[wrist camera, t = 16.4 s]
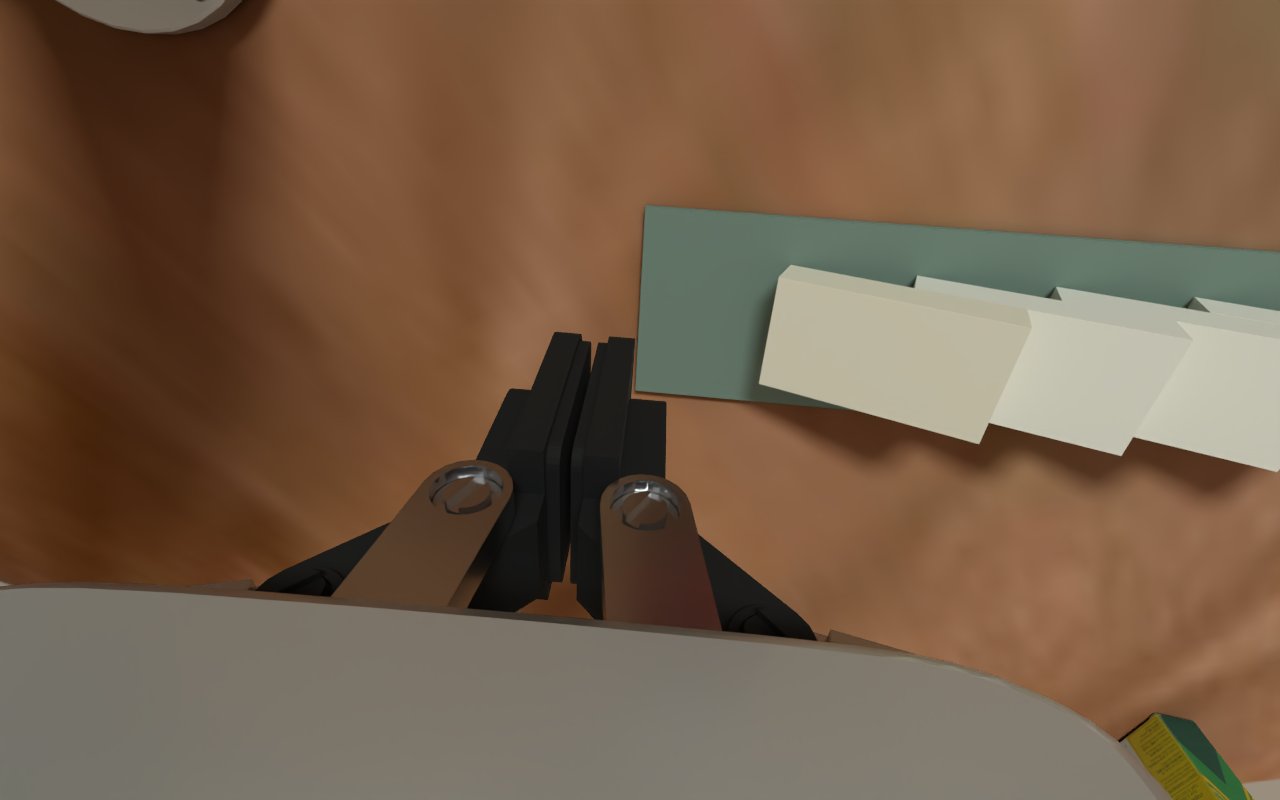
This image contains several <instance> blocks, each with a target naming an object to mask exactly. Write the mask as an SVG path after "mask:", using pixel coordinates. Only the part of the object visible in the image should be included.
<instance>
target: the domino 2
mask: <svg viewBox="0 0 1280 800" xmlns="http://www.w3.org/2000/svg"><path fill="white" fill-rule="evenodd" d="M913 288H916V289H922V290H927V291H932V292H938V293H943V294H948V295H953V296H959V297H964V298H969V299H974V300H980V301H985V302H990V303H996V304H1001V305H1006V306H1011V307H1017V308H1022V309H1027V310H1028V314H1029V318H1030V322H1031V325H1032V329H1031V331H1030V333H1029V336H1028V338H1027V340H1026V342H1025V344H1024V347H1023V349H1022V351H1021V353H1020V355H1019V358H1018V360H1017V362H1016V364H1015V366H1014V369H1013V371H1012V373H1011V375H1010V377H1009V380H1008V382H1007V384H1006V386H1005V388H1004V391H1003V393H1002V395H1001V397H1000V399H999V402H998V404H997V406H996V408H995V410H994V413H993V415H992V417H991V419H990V421H989V423H992V424H996V425H999V426H1003V427H1007V428H1011V429H1015V430H1019V431H1023V432H1027V433H1031V434H1035V435H1039V436H1043V437H1047V438H1051V439H1055V440H1059V441H1063V442H1067V443H1071V444H1075V445H1079V446H1083V447H1087V448H1091V449H1095V450H1099V451H1103V452H1107V453H1111V454H1115V455H1119V456H1122V454H1123V453H1124V451H1125V449H1126V448H1127V446H1128V445H1129V443H1130V441H1131V440H1132V438H1133V437H1134V435H1135V433H1136V432H1137V430H1138V429H1139V427H1140V425H1141V424H1142V422H1143V421H1144V419H1145V417H1146V416H1147V414H1148V413H1149V411H1150V409H1151V408H1152V406H1153V405H1154V403H1155V401H1156V400H1157V398H1158V397H1159V395H1160V393H1161V392H1162V390H1163V389H1164V387H1165V385H1166V384H1167V382H1168V381H1169V379H1170V377H1171V376H1172V374H1173V373H1174V371H1175V369H1176V368H1177V366H1178V365H1179V363H1180V361H1181V360H1182V358H1183V357H1184V355H1185V353H1186V352H1187V350H1188V349H1189V347H1190V345H1191V344H1192V342H1193V341H1194V340H1193V339H1192V338H1191V337H1190V336H1189V334H1188V333H1187V332H1186V331H1185V330H1184V329H1183V328H1182V327H1181V326H1180V325H1179V324H1178V323H1177V322H1176V321H1175V320H1169V319H1163V318H1157V317H1152V316H1146V315H1140V314H1135V313H1129V312H1123V311H1117V310H1112V309H1106V308H1100V307H1095V306H1089V305H1083V304H1077V303H1072V302H1066V301H1060V300H1055V299H1049V298H1043V297H1037V296H1032V295H1026V294H1020V293H1015V292H1009V291H1003V290H997V289H992V288H986V287H980V286H975V285H969V284H963V283H957V282H952V281H946V280H940V279H935V278H929V277H923V276H917V277H916V280H915V283H914V286H913Z"/></svg>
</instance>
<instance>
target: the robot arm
mask: <svg viewBox="0 0 1280 800" xmlns="http://www.w3.org/2000/svg"><path fill="white" fill-rule="evenodd" d="M55 1H57V2H59V3H61V4H62V5H64V6H66V7H68V8H69V9H71V10H73V11H74V12H76V13H78V14H80V15H81V16H84V17H87V18H89V19H92V20H94V21H97V22H100V23H102V24H105V25H107V26H110V27H113V28H117V29H123V30H128V31H134V32H140V33H149V34H181V33H186V32H191V31H196V30H201V29H204V28H206V27H208V26H210V25H211V24H213V23H215V22H217V21H219V20H221V19H223V18H225V17H226V16H227V15H228V14H229V13H230V12H231V11H232V10H233V9H234V8H235V7H236V6H238V5H239V4H240V3H241V2H242V1H243V0H55ZM634 349H635V339H633V338H621V337H609V340H608V343H600V342H599V343H598V346H597V350H596V355H595V359H594V363H593V367H592V371H591V342H588V341H582V335H581V334H574V333H562V332H555V333H554V334H553V337H552V339H551V342H550V344H549V347H548V349H547V352H546V354H545V357H544V359H543V362H542V364H541V367H540V369H539V371H538V374H537V376H536V379H535V381H534V384H533V386H532V389H531V390H524V389H513V388H512V389H510V390H509V391H508V393H507V395H506V397H505V399H504V401H503V403H502V405H501V407H500V410H499V412H498V414H497V416H496V418H495V420H494V422H493V424H492V427H491V429H490V431H489V433H488V435H487V437H486V439H485V441H484V444H483V446H482V448H481V450H480V452H479V454H478V456H477V459H476V460H467V461H459V462H456V463H452V464H449V465H446V466H444V467H442V468H440V469H438V470H437V471H435V472H433V473H432V474H431V475H430V476H429V477H428V478H427V479H426V480H425V481H424V482H423V483H422V484H421V485H420V487H419V488H418V489H417V490H416V492H415V493H414V494H413V495H412V497H411V498H410V499H409V500H408V502H407V503H406V504H405V505H404V507H403V508H402V509H401V510H400V511H399V513H398V514H397V515H396V516H395V518H394V519H393V520H392V521H391V522H390V523H387V524H385V525H383V526H381V527H378V528H376V529H374V530H372V531H370V532H367V533H365V534H363V535H361V536H358V537H356V538H354V539H352V540H350V541H347V542H345V543H343V544H341V545H338V546H336V547H334V548H332V549H330V550H327V551H325V552H323V553H321V554H318V555H316V556H314V557H312V558H310V559H307V560H305V561H303V562H301V563H298V564H296V565H294V566H292V567H290V568H287V569H285V570H283V571H282V572H280V573H278V574H276V575H274V576H273V577H271V578H269V579H268V580H267V581H265V582H264V583H263V584H262V585H261V586H259V587H256V586H255V584H254V581H253V579H251V580H241V581H231V582H221V583H211V584H201V585H191V586H173V585H157V584H138V583H110V582H56V583H29V584H20V585H10V586H1V587H0V800H1173V799H1172V798H1171V797H1170V795H1169V794H1168V793H1167V792H1166V791H1165V789H1164V788H1163V787H1162V786H1161V785H1160V784H1159V782H1158V781H1157V780H1156V779H1155V778H1154V777H1153V776H1152V775H1151V774H1150V773H1149V772H1148V770H1147V769H1146V768H1145V767H1144V766H1143V765H1142V764H1141V763H1140V762H1139V761H1138V760H1137V759H1136V758H1135V757H1134V756H1133V755H1132V754H1131V753H1130V752H1129V751H1128V750H1127V749H1126V748H1125V747H1123V746H1122V745H1121V744H1120V743H1119V742H1118V741H1117V740H1116V739H1114V738H1113V737H1112V736H1110V735H1109V734H1108V733H1106V732H1105V731H1104V730H1102V729H1101V728H1100V727H1098V726H1097V725H1096V724H1094V723H1093V722H1091V721H1089V720H1088V719H1086V718H1084V717H1083V716H1081V715H1079V714H1078V713H1076V712H1074V711H1072V710H1071V709H1069V708H1067V707H1065V706H1063V705H1061V704H1059V703H1057V702H1055V701H1053V700H1052V699H1050V698H1048V697H1046V696H1043V695H1041V694H1039V693H1036V692H1034V691H1031V690H1029V689H1027V688H1024V687H1022V686H1019V685H1017V684H1015V683H1012V682H1010V681H1007V680H1005V679H1003V678H1000V677H998V676H995V675H992V674H989V673H985V672H982V671H979V670H976V669H972V668H969V667H966V666H963V665H960V664H956V663H953V662H949V661H944V660H939V659H935V658H930V657H925V656H921V655H917V654H914V653H910V652H907V651H903V650H900V649H896V648H893V647H890V646H886V645H883V644H879V643H876V642H872V641H869V640H865V639H862V638H859V637H855V636H852V635H848V634H845V633H841V632H838V631H834V630H830V632H829V634H828V636H825V635H822V634H818V633H815V632H813V631H812V630H811V628H810V626H809V625H808V624H807V623H806V622H805V621H804V620H803V619H802V618H801V617H800V616H799V615H798V614H797V613H796V612H795V611H793V610H792V609H791V608H790V607H788V606H787V605H786V604H785V603H783V602H782V601H781V600H780V599H778V598H777V597H776V596H775V595H773V594H772V593H771V592H770V591H768V590H767V589H766V588H765V587H763V586H762V585H761V584H760V583H758V582H757V581H756V580H755V579H753V578H752V577H751V576H750V575H748V574H747V573H746V572H745V571H743V570H742V569H741V568H740V567H738V566H737V565H736V564H735V563H733V562H732V561H731V560H730V559H728V558H727V557H726V556H725V555H723V554H722V553H721V552H720V551H719V550H717V549H716V548H715V547H714V546H712V545H711V544H710V543H709V542H707V541H706V540H705V539H704V538H702V537H701V536H700V535H699V534H698V532H697V528H696V524H695V520H694V516H693V512H692V508H691V504H690V502H689V500H688V497H687V495H686V494H685V493H684V492H683V491H682V489H681V488H680V487H679V486H677V485H676V484H674V483H672V482H671V481H669V480H667V479H665V463H666V402H664V401H653V400H641V399H631V390H632V376H633V362H634ZM570 542H571V552H570V581H571V583H573V584H577V601H578V602H579V603H580V604H581V605H582V606H583V607H584V608H585V609H586V610H587V612H588V613H589V614H590V615H591V616H592V617H593V618H594V619H595V620H594V619H582V618H571V617H559V616H548V615H537V614H525V613H522V608H523V607H524V606H526V605H528V604H529V603H531V602H532V601H534V600H536V599H544V600H548V597H549V592H550V588H551V584H552V582H562V580H563V577H564V572H565V567H566V562H567V557H568V552H569V547H570Z"/></svg>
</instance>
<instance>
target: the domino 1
mask: <svg viewBox="0 0 1280 800" xmlns="http://www.w3.org/2000/svg"><path fill="white" fill-rule="evenodd" d="M1031 329H1032V325H1031V322H1030V318H1029V314H1028V310H1027V309H1022V308H1017V307H1011V306H1006V305H1001V304H996V303H990V302H985V301H980V300H974V299H969V298H964V297H959V296H953V295H948V294H943V293H938V292H932V291H927V290H922V289H916V288H911V287H906V286H901V285H895V284H890V283H885V282H880V281H874V280H869V279H864V278H858V277H853V276H848V275H843V274H837V273H832V272H827V271H822V270H816V269H811V268H806V267H800V266H795V265H790V266H789V267H788V268H787V269H786V270H785V271H784V272H783V273H782V274H781V275H780V276H779V279H778V284H777V289H776V295H775V300H774V305H773V310H772V316H771V321H770V326H769V332H768V337H767V342H766V348H765V353H764V358H763V364H762V369H761V374H760V380H759V384H762V385H765V386H769V387H773V388H776V389H780V390H784V391H787V392H791V393H794V394H798V395H802V396H805V397H809V398H813V399H816V400H820V401H824V402H827V403H831V404H834V405H838V406H842V407H845V408H849V409H853V410H856V411H860V412H864V413H867V414H871V415H875V416H878V417H882V418H885V419H889V420H893V421H896V422H900V423H904V424H907V425H911V426H915V427H918V428H922V429H925V430H929V431H933V432H936V433H940V434H944V435H947V436H951V437H955V438H958V439H962V440H966V441H969V442H973V443H976V444H979V443H980V441H981V439H982V437H983V435H984V432H985V430H986V428H987V426H988V424H989V421H990V419H991V417H992V415H993V413H994V410H995V408H996V406H997V404H998V402H999V399H1000V397H1001V395H1002V393H1003V391H1004V388H1005V386H1006V384H1007V382H1008V380H1009V377H1010V375H1011V373H1012V371H1013V369H1014V366H1015V364H1016V362H1017V360H1018V358H1019V355H1020V353H1021V351H1022V349H1023V347H1024V344H1025V342H1026V340H1027V338H1028V336H1029V333H1030V331H1031Z"/></svg>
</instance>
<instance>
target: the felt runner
mask: <svg viewBox="0 0 1280 800" xmlns="http://www.w3.org/2000/svg"><path fill="white" fill-rule="evenodd" d="M790 265H795V266H800V267H806V268H811V269H816V270H822V271H827V272H832V273H837V274H843V275H848V276H853V277H858V278H864V279H869V280H874V281H880V282H885V283H890V284H895V285H901V286H906V287H911V288H913V286H914V283H915V280H916V277H917V276H923V277H929V278H935V279H940V280H946V281H952V282H957V283H963V284H969V285H975V286H980V287H986V288H992V289H997V290H1003V291H1009V292H1015V293H1020V294H1026V295H1032V296H1037V297H1043V298H1049V299H1050V298H1051V296H1052V293H1053V291H1054V289H1055V287H1062V288H1068V289H1074V290H1079V291H1085V292H1091V293H1097V294H1103V295H1109V296H1115V297H1121V298H1127V299H1132V300H1138V301H1144V302H1150V303H1156V304H1162V305H1168V306H1174V307H1180V308H1185V309H1187V308H1188V307H1189V305H1190V303H1191V302H1192V300H1193V298H1194V297H1197V298H1203V299H1209V300H1215V301H1221V302H1227V303H1233V304H1239V305H1245V306H1251V307H1257V308H1263V309H1269V310H1275V311H1280V252H1276V251H1262V250H1249V249H1235V248H1222V247H1208V246H1194V245H1181V244H1167V243H1154V242H1140V241H1126V240H1113V239H1099V238H1086V237H1072V236H1059V235H1045V234H1031V233H1018V232H1004V231H991V230H977V229H963V228H950V227H936V226H923V225H909V224H895V223H882V222H868V221H855V220H841V219H828V218H814V217H800V216H787V215H773V214H760V213H746V212H732V211H719V210H705V209H692V208H678V207H665V206H651V205H646V206H645V220H644V239H643V257H642V276H641V294H640V313H639V331H638V350H637V368H636V386H635V391H646V392H657V393H668V394H679V395H690V396H701V397H711V398H722V399H733V400H744V401H755V402H766V403H777V404H788V405H799V406H809V407H820V408H831V409H842V410H853V409H849V408H845V407H842V406H838V405H834V404H831V403H827V402H824V401H820V400H816V399H813V398H809V397H805V396H802V395H798V394H794V393H791V392H787V391H784V390H780V389H776V388H773V387H769V386H765V385H762V384H759V380H760V374H761V369H762V364H763V358H764V353H765V348H766V342H767V337H768V332H769V326H770V321H771V316H772V310H773V305H774V300H775V295H776V289H777V284H778V279H779V276H780V275H781V274H782V273H783V272H784V271H785V270H786V269H787V268H788V267H789V266H790ZM853 411H856V410H853Z"/></svg>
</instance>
